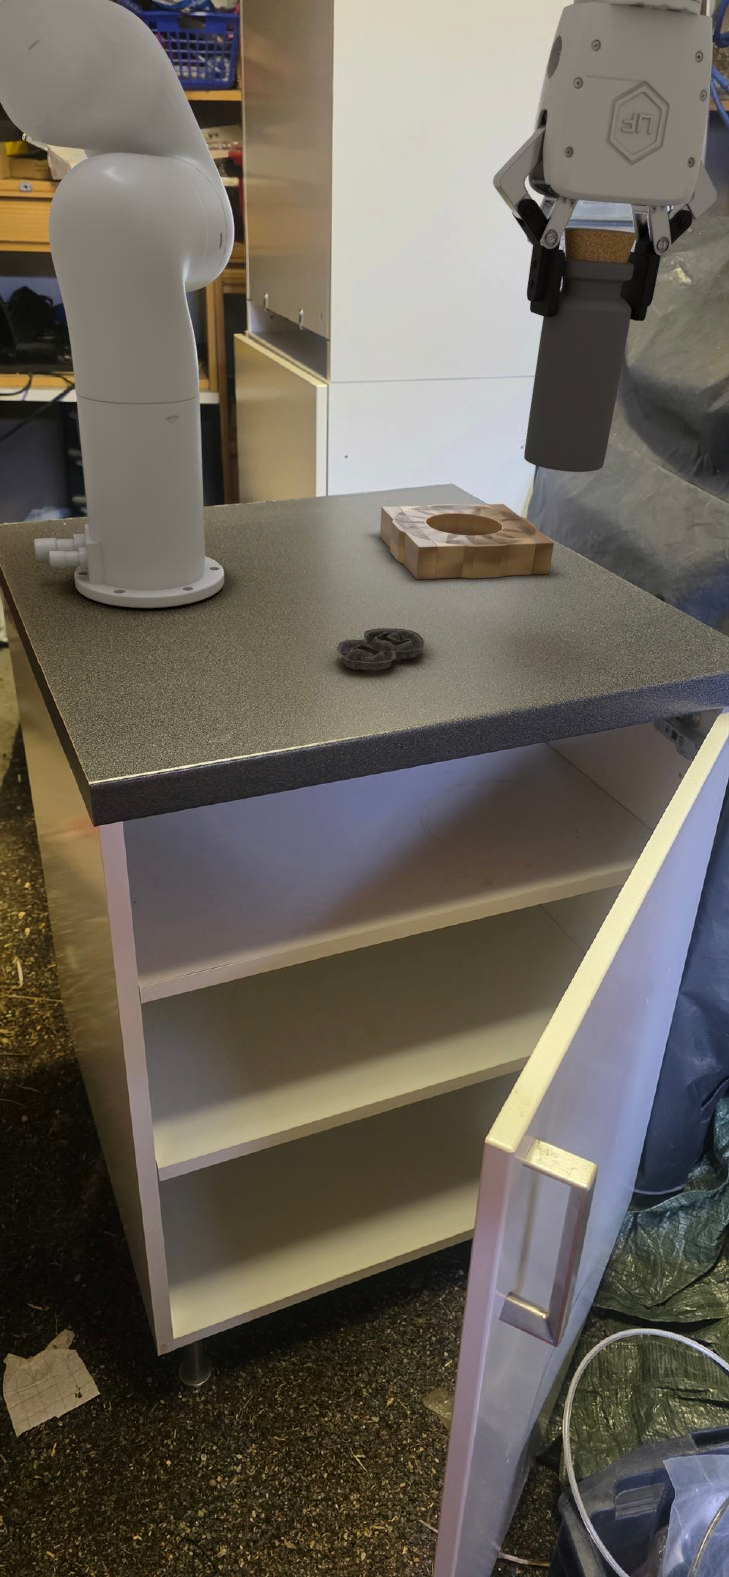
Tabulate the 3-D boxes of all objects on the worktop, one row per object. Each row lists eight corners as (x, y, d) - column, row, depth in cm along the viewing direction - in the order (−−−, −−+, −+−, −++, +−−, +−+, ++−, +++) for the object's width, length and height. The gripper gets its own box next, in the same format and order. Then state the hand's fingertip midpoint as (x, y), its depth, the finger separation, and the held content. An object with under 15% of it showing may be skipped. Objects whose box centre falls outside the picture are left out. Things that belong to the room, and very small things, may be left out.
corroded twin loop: (319, 662, 76) (320, 649, 75) (387, 633, 81) (387, 620, 80) (372, 682, 73) (373, 668, 72) (438, 651, 78) (439, 638, 78)
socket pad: (413, 581, 92) (416, 548, 91) (375, 535, 104) (377, 505, 102) (554, 575, 96) (559, 543, 94) (502, 531, 107) (505, 502, 105)
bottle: (620, 469, 74) (664, 235, 67) (557, 475, 72) (596, 232, 64) (568, 450, 79) (604, 228, 71) (507, 455, 76) (538, 224, 68)
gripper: (527, -43, 56) (486, 319, 65) (803, -7, 60) (727, 329, 69) (482, -24, 62) (450, 304, 71) (734, 8, 66) (673, 314, 75)
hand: (587, 313), depth 70 cm, fingers closed on bottle, 5 cm apart
